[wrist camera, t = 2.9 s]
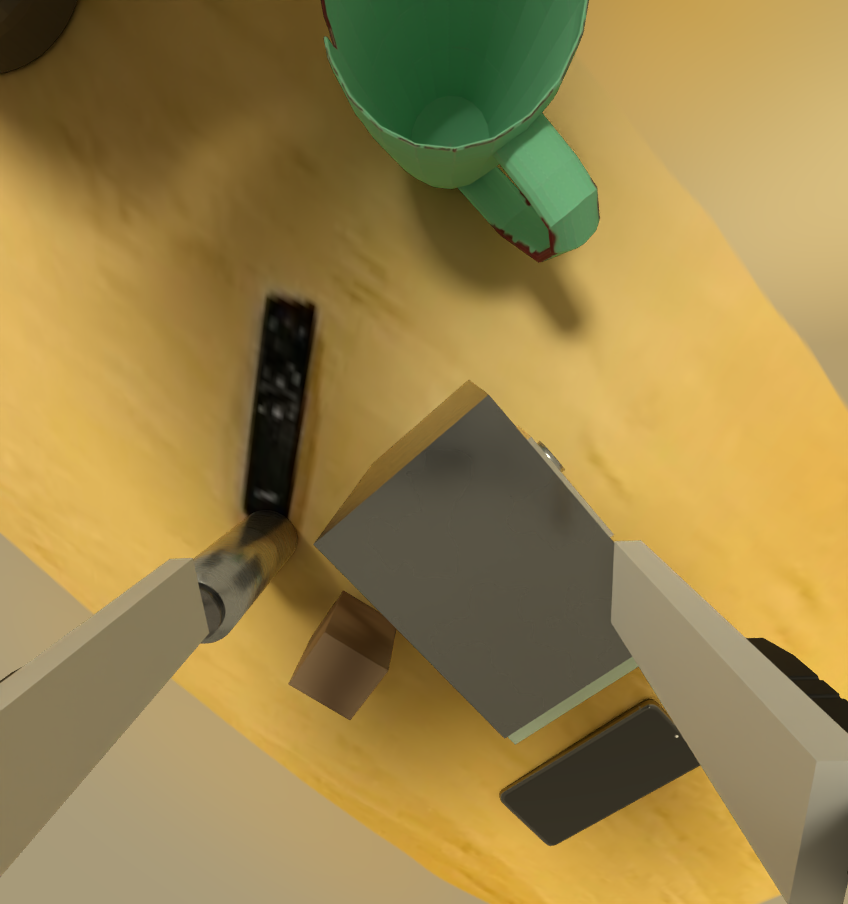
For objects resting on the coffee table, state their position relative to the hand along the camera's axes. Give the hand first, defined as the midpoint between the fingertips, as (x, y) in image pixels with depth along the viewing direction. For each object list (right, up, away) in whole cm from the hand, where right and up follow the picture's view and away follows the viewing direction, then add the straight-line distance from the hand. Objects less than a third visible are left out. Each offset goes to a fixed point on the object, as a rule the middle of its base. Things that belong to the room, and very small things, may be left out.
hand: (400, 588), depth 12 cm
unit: (+4, +2, +16) cm, 17 cm away
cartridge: (-11, -2, +18) cm, 21 cm away
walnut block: (-5, -10, +19) cm, 22 cm away
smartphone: (+15, -23, +22) cm, 35 cm away
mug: (+4, +21, +12) cm, 24 cm away
